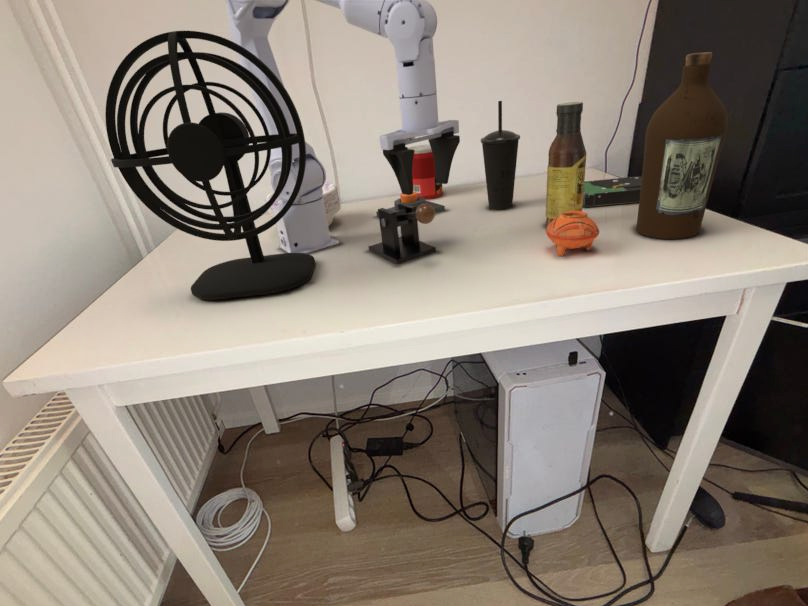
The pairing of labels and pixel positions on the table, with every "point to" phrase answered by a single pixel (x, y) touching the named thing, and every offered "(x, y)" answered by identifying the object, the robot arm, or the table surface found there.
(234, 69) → the desk fan
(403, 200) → the button
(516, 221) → the table surface
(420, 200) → the control block
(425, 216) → the lever
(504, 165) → the drinking cup
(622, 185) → the disk drive
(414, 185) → the canned food
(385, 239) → the bracket
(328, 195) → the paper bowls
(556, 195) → the sauce bottle
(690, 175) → the brown liquor bottle
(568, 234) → the pot
